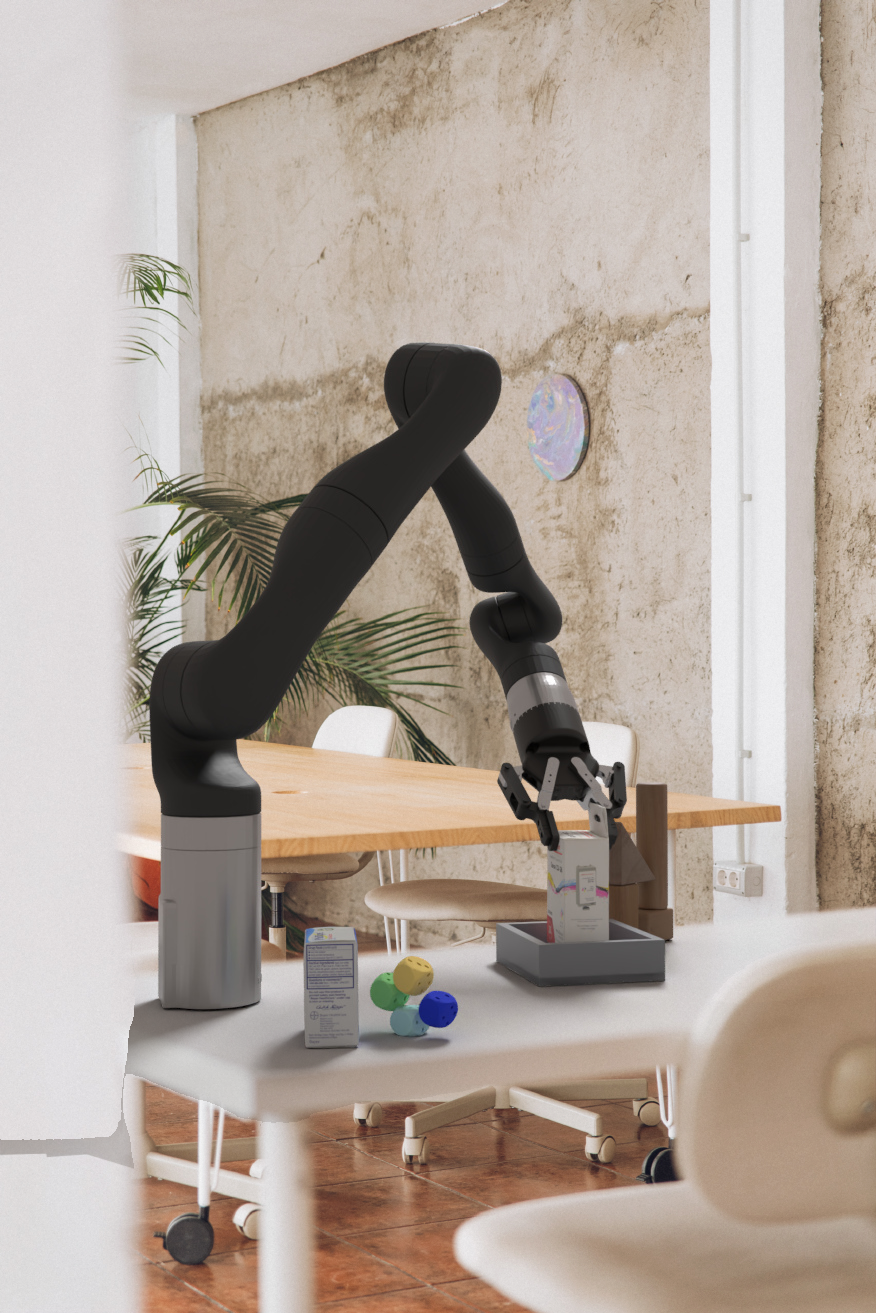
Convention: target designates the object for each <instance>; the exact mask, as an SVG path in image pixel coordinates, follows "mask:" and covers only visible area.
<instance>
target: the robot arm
mask: <svg viewBox="0 0 876 1313" xmlns="http://www.w3.org/2000/svg"><path fill="white" fill-rule="evenodd" d="M383 375H384V377H383V392H384V397H385V398H384V399H385V401H386V405H387V407H388V411H389V412H390V415H391V418H392V419H393V421H394V423H395V425H396V427H397V430H396V431H394V432H392V433H391V434H390V435H389V436H387V437H385V438H383V439H382V440H380V441H379V442H377V443H375V444H374V445H372V446H369V447H367V448H366V449H364V450H362V451H361V452H358V453H357V454H355V455H354V456H352V457H350V458H349V459H347V460H345V461H344V462H342V463H340V464H339V465H337V466H336V467H334V468H333V469H331V470H330V471H329V472H327V473H326V474H324V476H323V477H321V479H320V480H319V481H318V482H317V483H316V484H315V485H314V486H313V488H312V489H311V490H310V491H309V493H308V494H307V495H306V496H305V498H304V499H303V500H302V502H301V503H300V504H299V505H298V506H297V508H296V509H295V510H294V512H293V513H292V514H291V516H290V517H289V518H288V520H287V522H286V523H285V525H284V527H283V529H282V531H281V532H280V536H279V538H278V540H277V541H278V542H277V544H276V548H275V552H274V557H273V561H272V566H271V571H270V574H269V578H268V581H267V583H266V585H265V587H264V589H263V590H262V593H261V594H260V595H259V596H258V598H257V600H256V601H255V602H254V604H252V605H251V607H250V608H249V610H248V611H247V612H246V613H245V614H244V615H243V617H241V619H240V620H239V621H238V622H237V623H236V624H235V626H234V627H233V628H231V629H230V630H229V631H228V632H227V634H225V635H224V636H223V637H221V638H220V639H214V640H213V639H212V640H192V641H188V642H182V643H179V644H177V645H174V646H172V647H171V648H170V649H168V650H167V651H166V652H165V653H164V654H163V655H162V656H161V658H159V660H158V662H157V663H156V666H155V668H154V669H153V670H154V671H153V675H152V677H151V682H150V690H149V705H148V706H149V710H148V711H149V733H150V734H149V736H150V757H151V759H150V760H151V772H152V778H153V781H154V782H153V783H154V784H155V787H156V790H157V792H158V794H159V799H160V801H159V802H160V893H159V895H158V901H157V902H158V908H157V909H158V913H157V914H158V919H157V921H158V928H157V930H158V932H157V934H158V936H157V937H158V938H157V939H158V941H157V942H158V945H157V946H158V947H157V948H158V954H157V956H158V957H157V962H158V967H157V968H158V970H157V971H158V973H157V974H158V977H157V978H158V982H157V984H158V985H157V986H158V987H157V988H158V990H157V992H158V993H157V994H158V999H159V1002H160V1005H161V1006H162V1008H163V1009H170V1008H172V1009H173V1008H175V1009H177V1008H178V1009H179V1008H180V1009H186V1010H187V1009H191V1010H217V1009H218V1010H219V1009H221V1010H222V1009H228V1008H229V1009H230V1008H237V1007H238V1008H239V1007H243V1006H249V1005H252V1004H255V1003H257V1002H260V1001H261V1000H262V982H263V979H262V978H263V977H262V976H263V975H262V789H261V786H260V784H259V783H258V781H256V780H255V779H254V778H253V777H252V776H251V775H249V773H248V772H247V771H246V770H245V768H244V767H243V766H242V763H241V761H240V758H239V755H238V743H237V740H241V739H244V738H246V737H249V736H251V735H253V734H254V733H256V732H257V731H259V730H260V729H261V728H262V727H263V726H264V725H266V724H267V722H268V721H269V720H270V718H271V717H272V716H273V714H274V713H275V711H276V710H277V708H278V707H279V705H280V703H281V702H282V700H283V699H284V696H285V694H286V693H287V692H288V690H289V688H290V686H291V685H292V683H293V681H294V679H295V677H296V676H297V673H298V672H299V670H300V668H302V667H301V666H302V665H303V663H304V662H305V660H306V658H307V657H308V655H309V654H310V651H311V650H312V648H313V646H314V645H315V643H316V642H317V640H318V639H319V637H320V636H321V635H322V633H323V631H324V630H326V627H327V626H329V624H330V623H331V621H332V620H333V618H334V617H335V616H336V614H337V613H338V612H339V610H340V609H341V607H343V605H344V604H345V602H346V601H347V599H348V598H349V596H350V595H351V593H352V592H353V591H354V589H356V587H357V586H358V584H359V583H360V582H361V581H362V579H363V578H364V577H365V576H366V574H367V573H368V572H369V570H371V568H372V567H373V565H374V564H375V563H376V562H377V560H378V559H379V558H380V556H381V555H382V553H383V552H384V550H385V549H386V548H387V546H388V544H389V543H390V542H391V540H392V539H393V537H394V536H395V534H396V533H397V531H398V530H399V528H400V527H401V526H402V524H403V523H404V521H405V520H406V519H407V518H408V516H410V514H411V513H412V511H413V510H414V509H415V507H416V506H417V505H418V504H419V502H420V501H421V500H422V499H423V497H424V496H425V494H427V492H428V491H429V490H430V488H431V489H432V491H433V493H434V495H435V497H436V499H437V501H438V502H439V504H440V506H441V508H442V511H443V512H444V515H445V517H446V519H447V521H448V523H449V525H450V526H449V527H450V528H451V531H452V533H453V536H454V539H455V542H456V546H457V548H458V551H459V553H460V558H461V559H462V563H463V565H464V568H465V571H466V573H467V574H466V575H467V577H468V579H469V581H470V583H471V585H472V586H473V587H474V588H475V589H476V590H478V591H479V592H483V593H490V594H493V593H495V594H496V593H501V594H498V595H495V596H491V597H488V598H484V599H482V600H481V601H479V602H478V603H476V604H475V606H474V607H473V608H472V610H471V613H470V615H469V622H468V623H469V629H470V633H471V635H472V638H473V640H474V642H475V643H476V645H477V647H478V648H479V649H480V651H481V653H482V654H483V655H484V656H485V657H486V658H487V660H488V661H489V662H490V663H491V665H492V666H493V668H494V669H495V672H496V673H497V675H498V677H499V680H500V682H501V686H502V690H503V693H504V696H505V700H506V703H507V714H508V719H509V727H510V730H511V732H512V734H513V738H514V742H515V745H516V749H517V752H518V756H519V759H520V763H521V765H516V766H513V765H512V764H511V763H510V762H503V763H502V764H501V767H500V770H499V773H498V777H497V780H496V782H497V785H498V787H499V788H500V791H501V792H502V794H503V796H504V798H505V800H506V802H507V804H508V805H509V807H510V809H511V811H512V814H514V817H515V818H516V819H517V820H519V821H525V820H526V819H528V820H531V821H533V822H534V824H535V825H536V828H537V834H538V836H539V840H540V842H541V844H542V846H544V847H548V850H549V851H556V850H557V847H558V844H559V839H560V836H559V832H558V830H559V829H558V826H557V822H556V820H555V815H554V812H553V810H549V809H550V806H551V803H552V802H559V801H562V800H568V801H576V802H577V804H578V805H579V806H580V808H582V810H583V811H587V812H588V811H589V813H590V807H589V803H590V802H591V803H595V804H597V805H600V806H602V807H605V808H606V813H607V825H608V837H609V850H611V848H612V845H614V844H615V841H616V839H617V836H618V830H617V827H616V823H615V822H616V819H617V820H618V819H621V818H622V815H623V812H624V808H625V806H626V804H627V801H628V800H627V799H628V796H627V784H626V782H627V781H626V767H625V764H624V763H623V762H621V761H615V762H614V763H613V765H612V766H611V765H605V764H604V765H603V764H600V763H599V762H598V760H597V759H596V758H594V756H593V755H592V753H591V747H590V743H589V740H588V736H587V733H586V731H585V728H584V724H583V721H582V718H581V715H580V712H579V708H578V705H577V701H576V699H575V696H574V695H573V693H572V691H571V690H570V688H569V687H570V686H569V685H568V682H567V679H566V675H565V672H564V668H563V665H562V662H561V660H560V657H559V655H558V653H557V652H556V650H555V649H554V648H553V647H552V646H550V645H548V643H550V642H552V641H554V640H556V638H557V637H558V636H559V635H560V632H561V630H562V627H563V614H562V610H561V607H560V606H559V602H558V601H557V599H556V597H554V595H553V593H552V592H551V590H549V588H548V587H547V584H545V583H544V581H543V580H542V579H541V577H540V576H539V575H538V573H537V572H536V570H535V569H534V567H533V565H532V563H531V561H530V560H529V556H528V554H527V553H526V552H527V551H526V549H525V546H524V542H523V539H522V536H521V533H520V531H519V530H520V529H519V527H518V524H517V521H516V518H515V516H514V513H513V511H512V510H511V507H510V506H509V504H508V503H507V501H506V499H505V498H504V496H503V495H502V494H501V492H500V491H499V490H498V488H496V486H495V485H494V484H493V483H492V482H491V481H490V480H489V478H488V477H487V476H486V475H485V474H484V472H483V471H482V470H481V469H480V468H479V466H477V464H476V463H475V461H473V459H472V458H471V457H470V455H469V454H468V452H467V450H466V448H467V447H468V446H469V445H470V444H471V443H472V442H473V441H474V440H475V439H476V437H477V436H479V434H480V433H481V432H482V430H483V429H484V428H485V427H486V425H487V424H488V423H489V421H490V420H491V418H492V416H493V414H495V413H494V412H495V410H496V408H497V406H498V403H499V402H500V397H501V393H502V384H503V379H502V371H501V367H500V364H499V363H498V360H496V358H495V357H494V356H493V354H491V353H490V352H489V351H487V350H485V349H484V348H480V347H477V346H475V345H469V344H461V343H457V344H454V343H442V342H441V343H439V342H431V341H429V342H425V341H424V342H409V343H406V344H404V345H401V346H400V347H399V348H398V349H396V350H395V351H394V353H393V354H392V355H391V356H390V357H389V360H388V362H387V364H386V367H385V370H384V374H383ZM597 777H598V778H599V779H601V780H602V783H603V784H604V788H606V789H608V797H607V796H606V795H605V793H604V792H603V790H602V788H603V787H602V785H601V783H600V782H599V781H598V780H597V779H596V778H597ZM522 781H525V782H526V783H528V784H529V786H531V787H532V788H533V789H535V790H536V792H538V794H537V798H536V801H533V800H532V799H531V797H530V795H529V793H528V792H527V790H526V788H525V786H524V784H523V782H522ZM595 819H596V821H598V822H600V817H599V816H598V815H595Z"/></svg>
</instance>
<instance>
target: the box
mask: <svg viewBox="0 0 876 1313" xmlns="http://www.w3.org/2000/svg"><path fill="white" fill-rule="evenodd" d="M495 933H496V934H495V937H496V938H495V939H496V940H495V943H496V944H495V946H496V947H495V949H496V950H495V958H496V960H495V961H496V962H497V961H498V962H497V963H498V964H500V963H501V965H502V966H503V967H505V968H507V969H509V970H510V969H511V972H514V973H515V974H517V975H519V976H521V977H522V978H524V979H525V980H527V981H529V982H530V983H532V984H534V985H536V986H537V987H541V988H542V987H556V986H558V987H560V986H562V987H563V986H579V985H600V984H620V983H622V984H623V983H624V984H625V983H638V982H639V983H642V982H643V983H646V982H660V981H661V982H662V981H663V982H664V981H666V940H664V939H662V938H659V937H657V936H654V935H652V934H649V933H647V932H644V931H642V930H639V929H637V928H634V927H632V926H629V925H627V924H624V923H622V922H619V921H617V920H614V919H609V940H608V941H584V942H560V943H549V942H548V941H547V920H546V921H542V920H541V921H524V922H523V921H518V922H516V921H515V922H496V923H495Z"/></svg>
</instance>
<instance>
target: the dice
mask: <svg viewBox="0 0 876 1313" xmlns="http://www.w3.org/2000/svg"><path fill="white" fill-rule="evenodd" d="M395 966H396V967H395V968H394V970H393V972H389V971H387V972H383V973H381V974H379V975H378V976H376V978H375V979H374V980H373V981H372V983H371V985H370V989H369V995H370V1000H371V1002H372V1003H373V1005H374V1006H375V1007H377V1008H379V1009H380V1010H383V1011H387V1012H392V1013H391V1015H390V1019H389V1024H390V1027H391V1030H392V1031H393V1032H394V1034H396V1036H400V1037H419V1036H423V1035H424V1034H426V1033H427V1031H428V1030H429V1028H430V1027H432V1028H436V1029H437V1028H438V1029H444V1028H447V1027H448V1026H450V1025H451V1024H452V1023H453V1022H454V1021H455V1019H456V1017H457V1016H458V1013H459V1005H458V1004H459V1003H458V1001H457V999H456V997H455V996H454V995H452V993H449V992H448V991H443V990H442V991H441V990H432V991H429V992H428V993H426V994H425V995H424V996H423V997H422V998H421V1000H420V1002H419V1004H407V1002H408V1001H409V999H410V997H416V996H417V997H418V996H420V995H422V994H424V993H425V992H427V990H428V989H429V988H430V987H431V985H432V983H433V981H434V980H435V979H434V976H435V972H434V969H433V967H432V965H431V963H430V962H429V961H428V960H426V959H424V958H422V957H420V956H415V955H409V956H407V957H406V956H405V957H404V958H402V959H401V960H400V961H399V962H398V963H397V965H395Z"/></svg>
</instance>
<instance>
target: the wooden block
mask: <svg viewBox="0 0 876 1313" xmlns="http://www.w3.org/2000/svg"><path fill="white" fill-rule="evenodd" d="M668 813H669V812H668V785H667V783H665V782H654V781H653V782H652V781H650V782H647V781H646V782H638V783H636V785H635V826H636V827H635V828H636V829H635V841H634V840H633V839H632V837H631V836H630V834H629V832H628V831H627V828H625V826H624V824H623V822H621V821H615V823H616V827H617V830H618V836H617V839H616V841H615V844H614V845H612V848H611V850H609V919H614V920H617V921H619V922H622V923H624V924H627V925H629V926H632V927H634V928H637V929H639V930H642V931H644V932H647V933H649V934H652V935H654V936H657V937H659V938H662V939H664V940H665V941H669V940H672V939H673V938H674V908H672V907H669V891H668V890H669V878H668V877H669V869H668V868H669V865H668V864H669V862H668V860H669V856H668V852H669V851H668V848H669V847H668V844H669V843H668V842H669V841H668V837H669V834H668V833H669V832H668V831H669V830H668V828H669V827H668V825H669V824H668V817H669V816H668V815H669V814H668Z"/></svg>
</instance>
